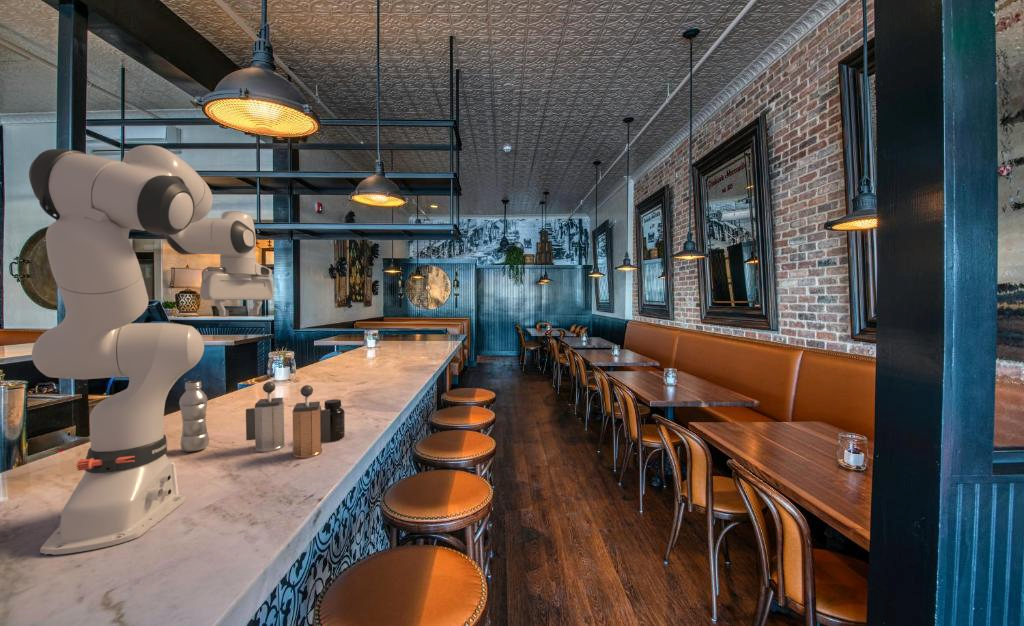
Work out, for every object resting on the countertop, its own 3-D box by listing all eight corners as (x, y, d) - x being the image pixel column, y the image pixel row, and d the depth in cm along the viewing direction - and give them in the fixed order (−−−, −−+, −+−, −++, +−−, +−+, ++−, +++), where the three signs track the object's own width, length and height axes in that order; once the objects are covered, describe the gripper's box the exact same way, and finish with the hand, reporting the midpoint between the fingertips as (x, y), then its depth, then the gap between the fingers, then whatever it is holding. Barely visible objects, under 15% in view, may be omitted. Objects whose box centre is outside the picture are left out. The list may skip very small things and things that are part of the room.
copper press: (331, 446, 121) (330, 400, 120) (329, 455, 114) (328, 406, 113) (295, 450, 117) (294, 402, 117) (291, 460, 110) (290, 409, 110)
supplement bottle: (316, 440, 125) (315, 402, 125) (332, 433, 132) (331, 397, 131) (334, 443, 123) (333, 404, 123) (349, 436, 130) (349, 399, 129)
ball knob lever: (314, 433, 117) (313, 383, 116) (313, 437, 114) (312, 385, 113) (302, 434, 116) (301, 384, 115) (300, 438, 113) (299, 386, 112)
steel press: (243, 454, 114) (242, 405, 114) (250, 445, 121) (249, 399, 121) (282, 450, 117) (281, 402, 117) (286, 441, 124) (285, 396, 124)
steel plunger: (262, 433, 117) (261, 383, 117) (264, 429, 120) (264, 381, 120) (275, 431, 119) (274, 382, 118) (277, 428, 122) (276, 380, 121)
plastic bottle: (197, 454, 114) (195, 384, 113) (174, 454, 114) (172, 384, 113) (214, 446, 120) (213, 379, 120) (192, 446, 121) (191, 379, 120)
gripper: (210, 265, 108) (211, 317, 108) (276, 270, 127) (277, 314, 128) (193, 266, 110) (195, 316, 110) (261, 271, 129) (262, 314, 130)
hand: (239, 315), depth 119 cm, fingers open, 8 cm apart
